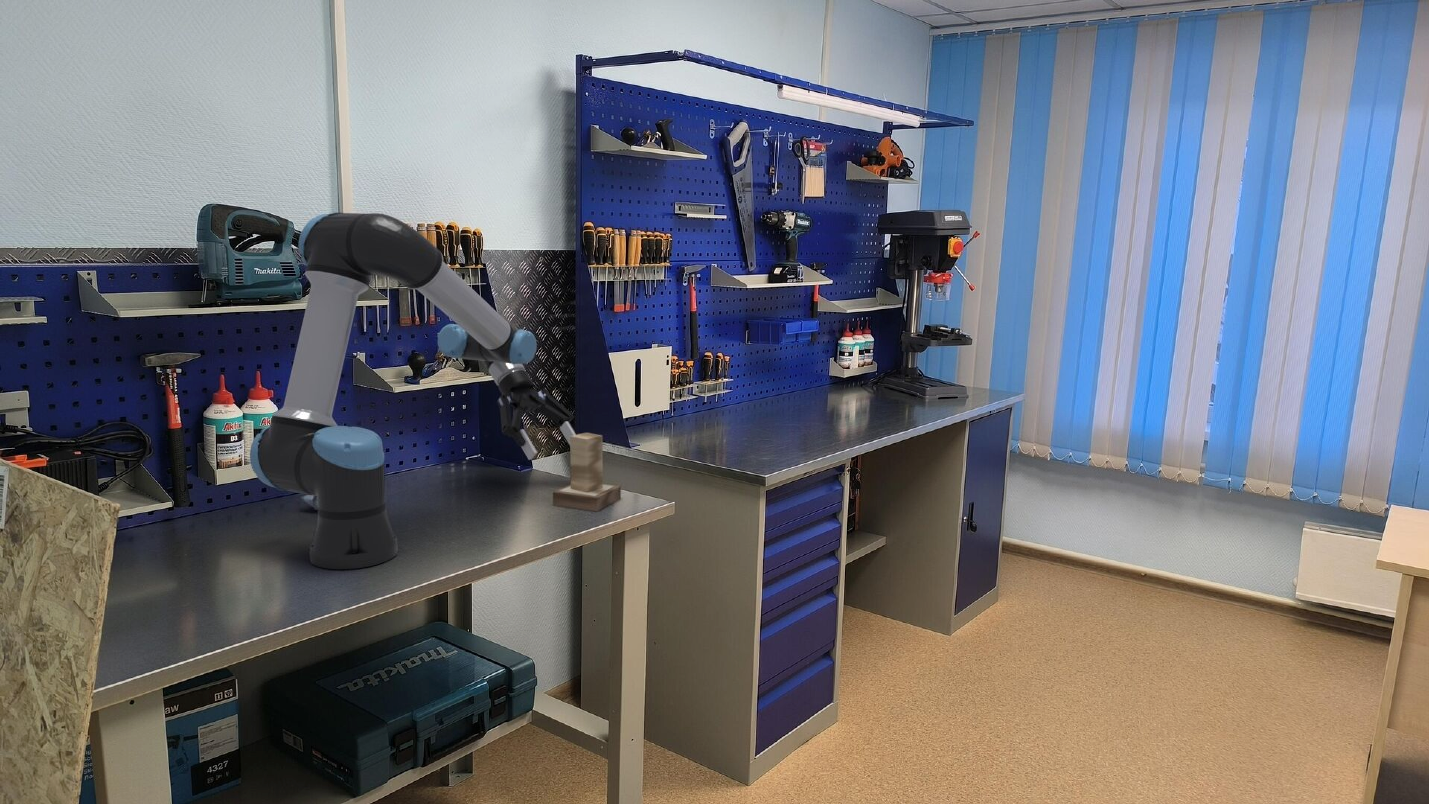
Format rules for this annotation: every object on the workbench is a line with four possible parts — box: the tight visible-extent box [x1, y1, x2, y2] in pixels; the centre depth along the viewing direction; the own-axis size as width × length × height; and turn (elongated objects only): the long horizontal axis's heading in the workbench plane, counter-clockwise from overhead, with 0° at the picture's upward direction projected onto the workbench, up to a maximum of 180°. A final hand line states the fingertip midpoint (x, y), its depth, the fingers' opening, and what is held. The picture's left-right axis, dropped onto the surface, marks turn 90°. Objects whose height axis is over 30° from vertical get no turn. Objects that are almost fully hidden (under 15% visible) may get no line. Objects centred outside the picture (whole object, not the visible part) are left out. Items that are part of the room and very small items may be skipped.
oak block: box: [569, 432, 604, 493], centre depth 208 cm, size 5×5×12 cm
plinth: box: [552, 483, 622, 512], centre depth 210 cm, size 11×11×3 cm
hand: (555, 451), depth 214 cm, fingers open, 13 cm apart
